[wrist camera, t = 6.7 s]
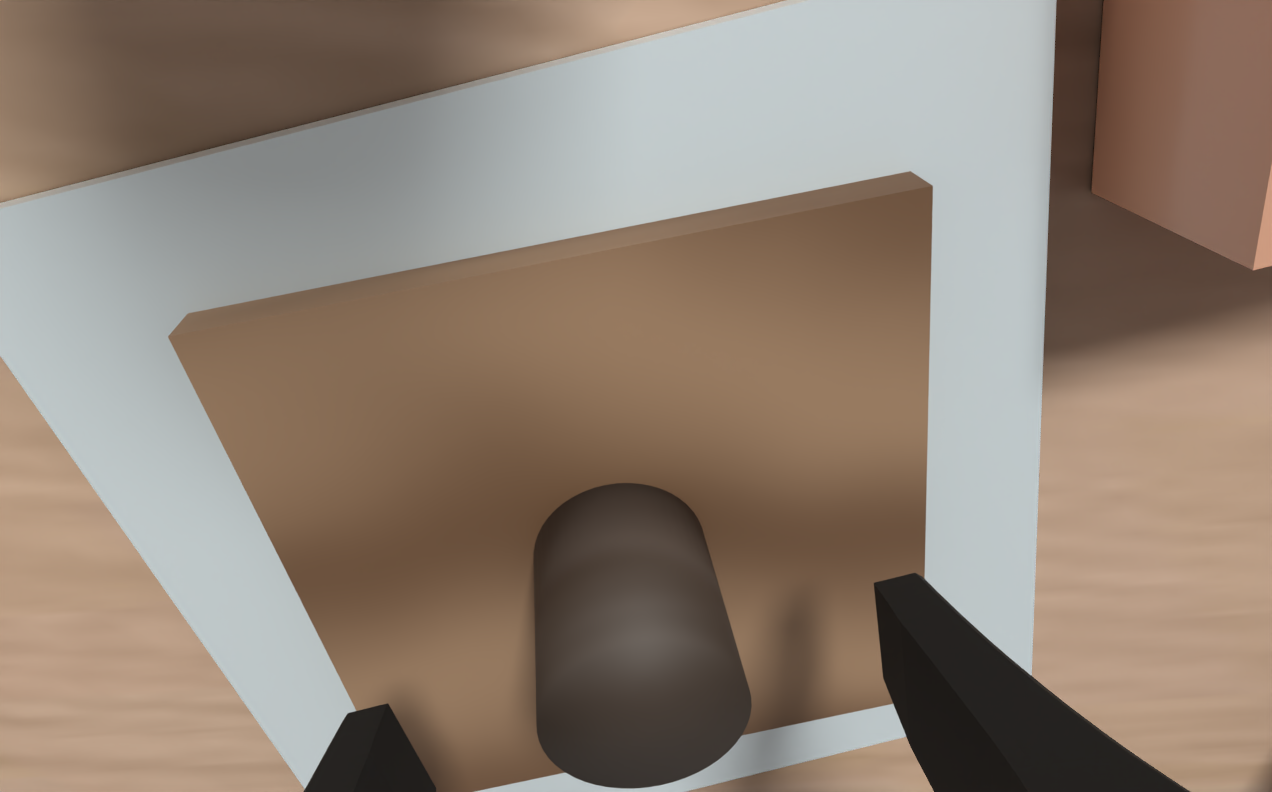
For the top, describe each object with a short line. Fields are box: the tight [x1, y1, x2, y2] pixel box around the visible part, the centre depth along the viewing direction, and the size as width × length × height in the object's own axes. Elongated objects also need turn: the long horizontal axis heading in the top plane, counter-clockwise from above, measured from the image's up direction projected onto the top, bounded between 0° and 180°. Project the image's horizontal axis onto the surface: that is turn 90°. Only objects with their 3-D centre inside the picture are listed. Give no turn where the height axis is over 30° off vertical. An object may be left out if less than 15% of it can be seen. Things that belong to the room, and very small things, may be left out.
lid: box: [168, 171, 933, 792], centre depth 13 cm, size 11×11×4 cm
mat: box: [0, 0, 1057, 792], centre depth 16 cm, size 16×16×1 cm
